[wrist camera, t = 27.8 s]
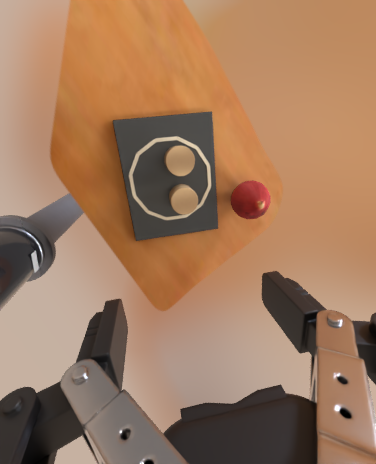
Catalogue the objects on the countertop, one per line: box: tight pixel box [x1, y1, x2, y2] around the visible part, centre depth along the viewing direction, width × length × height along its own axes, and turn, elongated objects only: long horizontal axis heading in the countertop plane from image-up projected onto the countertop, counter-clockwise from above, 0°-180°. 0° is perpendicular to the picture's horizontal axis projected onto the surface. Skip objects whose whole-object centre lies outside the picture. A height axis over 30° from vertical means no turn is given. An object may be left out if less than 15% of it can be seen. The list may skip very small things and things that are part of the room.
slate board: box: [113, 112, 218, 241], centre depth 36 cm, size 14×18×1 cm
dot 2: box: [169, 184, 198, 215], centre depth 35 cm, size 4×4×4 cm
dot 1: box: [164, 146, 195, 176], centre depth 33 cm, size 4×4×4 cm
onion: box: [231, 181, 270, 219], centre depth 35 cm, size 6×6×8 cm
